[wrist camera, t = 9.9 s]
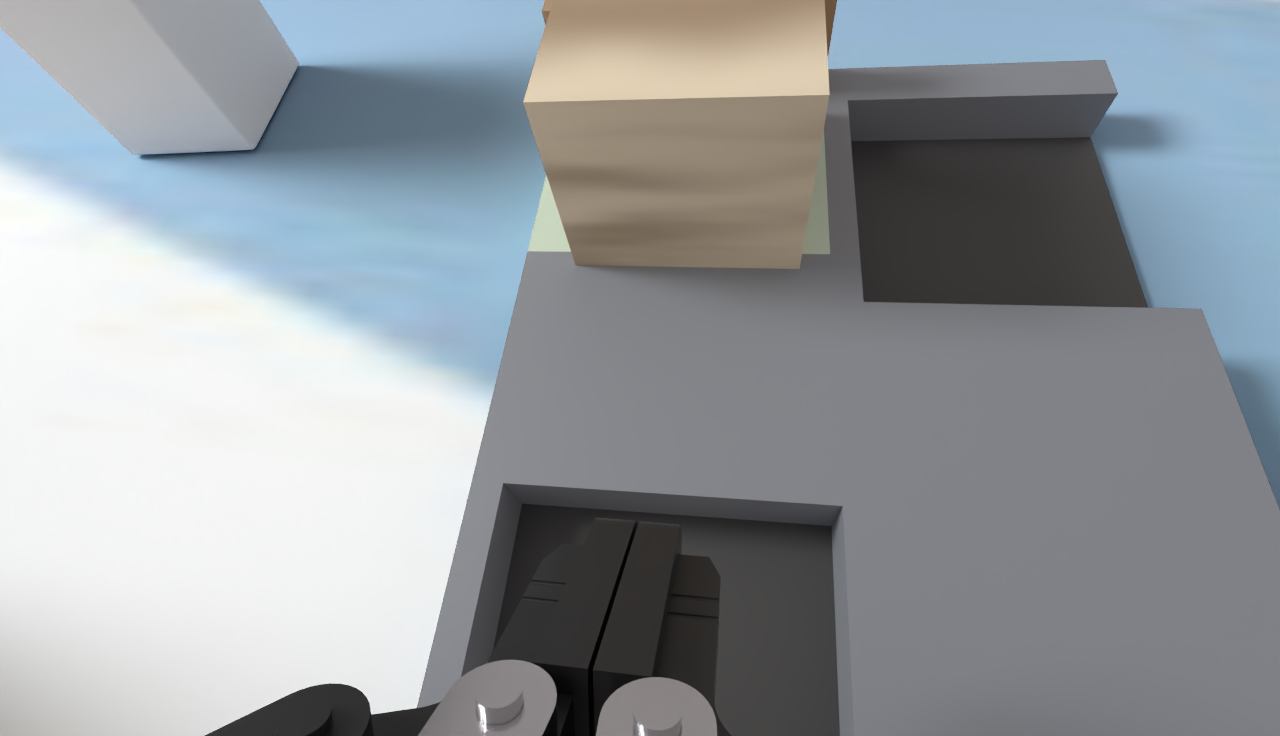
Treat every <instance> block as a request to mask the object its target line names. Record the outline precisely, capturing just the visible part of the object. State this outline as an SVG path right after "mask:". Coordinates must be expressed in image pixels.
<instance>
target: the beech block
mask: <svg viewBox="0 0 1280 736" xmlns="http://www.w3.org/2000/svg"><path fill="white" fill-rule="evenodd" d="M829 95H830V94H829V74H828V55H827V36H826V16H825V0H553V3H552V6H551V9H550V13H549V16H548V20H547V23H546V26H545V30H544V33H543V37H542V40H541V43H540V47H539V50H538V53H537V57H536V60H535V64H534V67H533V70H532V74H531V77H530V81H529V84H528V87H527V91H526V94H525V98H524V101H523V104H524V107H525V110H526V113H527V116H528V119H529V122H530V125H531V128H532V132H533V135H534V138H535V141H536V144H537V147H538V150H539V153H540V156H541V159H542V163H543V166H544V169H545V172H546V175H547V178H548V181H549V184H550V187H551V191H552V194H553V197H554V200H555V203H556V206H557V209H558V212H559V215H560V219H561V222H562V225H563V228H564V231H565V234H566V237H567V240H568V243H569V247H570V250H571V253H572V256H573V259H574V262H575V265H587V266H648V267H709V268H770V269H800V264H801V258H802V252H803V246H804V240H805V235H806V229H807V223H808V217H809V211H810V206H811V200H812V194H813V188H814V182H815V177H816V171H817V165H818V159H819V153H820V147H821V142H822V136H823V130H824V124H825V118H826V113H827V107H828V101H829Z"/></svg>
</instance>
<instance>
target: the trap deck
mask: <svg viewBox="0 0 1280 736" xmlns="http://www.w3.org/2000/svg"><path fill="white" fill-rule="evenodd" d="M552 3H553V0H545V2H544V6H543V9H542V14H543V17H544V21H545V25H546V23H547V20H548V16H549V13H550V9H551V6H552ZM836 3H837V0H825V16H826V36H827V55H828V53H829V46H830V40H831V34H832V28H833V21H834V15H835V9H836ZM828 74H829V94H830V95H829V101H828V107H827V113H826V118H825V124H824V130H823V136H822V142H821V147H820V153H819V159H818V165H817V171H816V177H815V182H814V188H813V194H812V200H811V206H810V211H809V217H808V223H807V229H806V235H805V240H804V246H803V252H802V258H801V264H800V269H770V268H709V267H648V266H587V265H575V262H574V259H573V256H572V253H571V250H570V247H569V243H568V240H567V237H566V234H565V231H564V228H563V225H562V222H561V219H560V215H559V212H558V209H557V206H556V203H555V200H554V197H553V194H552V191H551V187H550V184H549V181H548V178H547V175H546V178H545V182H544V186H543V190H542V195H541V199H540V203H539V207H538V211H537V215H536V219H535V223H534V228H533V232H532V236H531V240H530V244H529V248H528V252H527V256H526V261H525V265H524V269H523V273H522V277H521V281H520V285H519V289H518V294H517V298H516V302H515V306H514V310H513V314H512V318H511V322H510V327H509V331H508V335H507V339H506V343H505V347H504V351H503V355H502V360H501V364H500V368H499V372H498V376H497V380H496V384H495V388H494V393H493V397H492V401H491V405H490V409H489V413H488V417H487V421H486V426H485V430H484V434H483V438H482V442H481V446H480V450H479V454H478V458H477V463H476V467H475V471H474V475H473V479H472V483H471V487H470V491H469V496H468V500H467V504H466V508H465V512H464V516H463V520H462V524H461V529H460V533H459V537H458V541H457V545H456V549H455V553H454V557H453V562H452V566H451V570H450V574H449V578H448V582H447V586H446V590H445V595H444V599H443V603H442V607H441V611H440V615H439V619H438V623H437V628H436V632H435V636H434V640H433V644H432V648H431V652H430V656H429V661H428V665H427V669H426V673H425V677H424V681H423V685H422V689H421V694H420V698H419V702H418V706H417V708H420V707H425V706H429V705H432V704H436V703H439V702H441V701H442V699H443V698H444V697H445V695H446V694H447V692H448V691H449V689H450V688H451V687H452V686H453V685H454V683H455V682H457V681H458V680H459V679H460V678H461V677H462V676H464V675H465V674H466V673H468V672H469V671H471V670H473V669H475V668H477V667H479V666H482V665H484V664H487V662H488V660H489V658H490V656H491V654H492V653H493V651H494V649H495V647H496V645H497V643H498V641H499V640H500V638H501V636H502V634H503V632H504V630H505V628H506V626H507V625H508V623H509V621H510V619H511V617H512V615H513V613H514V612H515V610H516V608H517V606H518V604H519V602H520V601H522V599H523V595H524V593H525V591H526V589H527V587H528V585H529V584H531V582H532V578H533V576H534V574H535V572H536V571H537V569H538V567H539V565H540V563H541V561H542V560H543V559H544V558H545V557H546V556H548V555H549V554H550V553H552V552H553V551H554V550H556V549H557V548H558V547H559V546H561V545H562V544H572V545H583V544H584V541H585V539H586V537H587V535H588V532H589V530H590V528H591V526H592V523H593V521H594V519H595V518H607V519H620V520H632V521H637V522H638V523H639V522H640V521H642V522H654V523H666V524H678V525H681V528H682V547H681V554H682V555H693V556H704V557H710V559H711V561H712V562H713V564H714V566H715V568H716V569H717V571H718V573H719V575H720V576H721V582H720V606H719V629H718V653H717V670H716V688H715V709H716V712H717V714H718V717H719V719H720V721H721V722H722V724H723V726H724V727H725V729H726V730H727V731H728V732H729V733H730V734H731V736H1280V509H1279V507H1278V504H1277V502H1276V499H1275V497H1274V494H1273V491H1272V489H1271V486H1270V484H1269V481H1268V479H1267V476H1266V473H1265V471H1264V468H1263V466H1262V463H1261V461H1260V458H1259V455H1258V453H1257V450H1256V448H1255V445H1254V443H1253V440H1252V437H1251V435H1250V432H1249V430H1248V427H1247V424H1246V422H1245V419H1244V417H1243V414H1242V412H1241V409H1240V406H1239V404H1238V401H1237V399H1236V396H1235V394H1234V391H1233V388H1232V386H1231V383H1230V381H1229V378H1228V376H1227V373H1226V370H1225V368H1224V365H1223V363H1222V360H1221V357H1220V355H1219V352H1218V350H1217V347H1216V345H1215V342H1214V339H1213V337H1212V334H1211V332H1210V329H1209V327H1208V324H1207V321H1206V319H1205V316H1204V314H1203V311H1202V309H1184V308H1148V306H1147V303H1146V300H1145V297H1144V295H1143V292H1142V289H1141V286H1140V283H1139V280H1138V277H1137V274H1136V271H1135V268H1134V265H1133V262H1132V259H1131V256H1130V253H1129V250H1128V247H1127V244H1126V241H1125V239H1124V236H1123V233H1122V230H1121V227H1120V224H1119V221H1118V218H1117V215H1116V212H1115V209H1114V206H1113V203H1112V200H1111V197H1110V194H1109V191H1108V188H1107V185H1106V183H1105V180H1104V177H1103V174H1102V171H1101V168H1100V165H1099V162H1098V159H1097V156H1096V153H1095V150H1094V147H1093V144H1092V141H1091V138H1090V137H1091V135H1092V134H1093V132H1094V130H1095V129H1096V127H1097V126H1098V124H1099V122H1100V121H1101V119H1102V118H1103V116H1104V115H1105V113H1106V111H1107V110H1108V108H1109V107H1110V105H1111V103H1112V102H1113V100H1114V99H1115V97H1116V96H1117V94H1118V92H1117V90H1116V87H1115V84H1114V82H1113V79H1112V77H1111V74H1110V72H1109V69H1108V66H1107V64H1106V61H1105V60H1089V61H1059V62H1029V63H999V64H969V65H939V66H908V67H878V68H848V69H828Z"/></svg>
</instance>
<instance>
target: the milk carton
mask: <svg viewBox="0 0 1280 736" xmlns="http://www.w3.org/2000/svg"><path fill="white" fill-rule="evenodd" d="M0 28H1V29H2V30H3V31H4V32H5V33H6V34H7V35H8V36H9V37H10V38H11V39H12V40H13V41H14V42H15V43H16V44H17V45H18V46H19V47H20V48H21V49H23V50H24V51H25V52H26V53H27V54H28V55H29V56H30V57H31V58H32V59H33V60H34V61H35V62H36V63H37V64H38V65H39V66H40V67H41V68H42V69H43V70H44V71H45V72H46V73H48V74H49V75H50V76H51V77H52V78H53V79H54V80H55V81H56V82H57V83H58V84H59V85H60V86H61V87H62V88H63V89H64V90H65V91H66V92H67V93H68V94H69V95H70V96H72V97H73V98H74V99H75V100H76V101H77V102H78V103H79V104H80V105H81V106H82V107H83V108H84V109H85V110H86V111H87V112H88V113H89V114H90V115H91V116H92V117H93V118H94V119H95V120H97V121H98V122H99V123H100V124H101V125H102V126H103V127H104V128H105V129H106V130H107V131H108V132H109V133H110V134H111V135H112V136H113V137H114V138H115V139H116V140H117V141H118V142H119V143H120V144H122V145H123V146H124V147H125V148H126V149H127V150H128V151H129V152H130V153H131V154H133V155H144V154H168V153H191V152H213V151H235V150H252V149H255V147H256V146H257V144H258V142H259V140H260V138H261V136H262V135H263V133H264V131H265V129H266V127H267V125H268V123H269V121H270V119H271V117H272V115H273V113H274V111H275V109H276V107H277V106H278V104H279V102H280V100H281V98H282V96H283V94H284V92H285V90H286V88H287V86H288V84H289V82H290V80H291V79H292V77H293V75H294V73H295V71H296V69H297V67H298V64H299V63H298V60H297V59H296V57H295V55H294V54H293V52H292V51H291V49H290V48H289V46H288V45H287V43H286V41H285V40H284V38H283V37H282V35H281V34H280V32H279V31H278V29H277V27H276V26H275V24H274V23H273V21H272V20H271V18H270V17H269V15H268V13H267V12H266V10H265V9H264V7H263V6H262V4H261V3H260V1H259V0H0Z"/></svg>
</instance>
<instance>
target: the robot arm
mask: <svg viewBox="0 0 1280 736" xmlns="http://www.w3.org/2000/svg"><path fill="white" fill-rule="evenodd" d="M681 547H682V528H681V525H678V524H666V523H654V522H642V521H640V522H639V523H638V522H637V521H632V520H620V519H607V518H595V519H594V521H593V523H592V526H591V528H590V530H589V532H588V535H587V537H586V539H585V541H584V544H583V545H572V544H562V545H561V546H559V547H558V548H557V549H556V550H554V551H553V552H552V553H550V554H549V555H548V556H546V557H545V558H544V559H543V560H542V561H541V563H540V565H539V567H538V569H537V571H536V572H535V574H534V576H533V578H532V582H531V584H529V585H528V587H527V589H526V591H525V593H524V595H523V599H522V601H520V602H519V604H518V606H517V608H516V610H515V612H514V613H513V615H512V617H511V619H510V621H509V623H508V625H507V626H506V628H505V630H504V632H503V634H502V636H501V638H500V640H499V641H498V643H497V645H496V647H495V649H494V651H493V653H492V654H491V656H490V658H489V660H488V662H487V664H484V665H482V666H479V667H477V668H475V669H473V670H471V671H469V672H468V673H466V674H465V675H464V676H462V677H461V678H460V679H459V680H458V681H457V682H455V683H454V685H453V686H452V687H451V688H450V689H449V691H448V692H447V694H446V695H445V697H444V698H443V699H442V701H441V702H439V703H436V704H432V705H429V706H425V707H420V708H415V709H408V710H401V711H394V712H388V713H381V714H374V715H371V712H370V705H369V702H368V700H367V698H366V696H365V695H364V694H363V693H362V692H361V691H359V690H358V689H356V688H354V687H351V686H349V685H343V684H323V685H317V686H312V687H308V688H305V689H302V690H299V691H297V692H295V693H292V694H290V695H288V696H286V697H284V698H281V699H279V700H277V701H275V702H273V703H271V704H269V705H267V706H265V707H263V708H261V709H259V710H257V711H255V712H253V713H251V714H248V715H246V716H244V717H242V718H240V719H238V720H236V721H234V722H232V723H230V724H228V725H226V726H224V727H222V728H220V729H218V730H216V731H213V732H211V733H209V734H207V735H205V736H731V734H730V733H729V732H728V731H727V730H726V729H725V727H724V726H723V724H722V722H721V721H720V719H719V717H718V714H717V712H716V709H715V688H716V670H717V653H718V629H719V606H720V582H721V576H720V575H719V573H718V571H717V569H716V568H715V566H714V564H713V562H712V561H711V559H710V557H704V556H693V555H682V554H681Z"/></svg>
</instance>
